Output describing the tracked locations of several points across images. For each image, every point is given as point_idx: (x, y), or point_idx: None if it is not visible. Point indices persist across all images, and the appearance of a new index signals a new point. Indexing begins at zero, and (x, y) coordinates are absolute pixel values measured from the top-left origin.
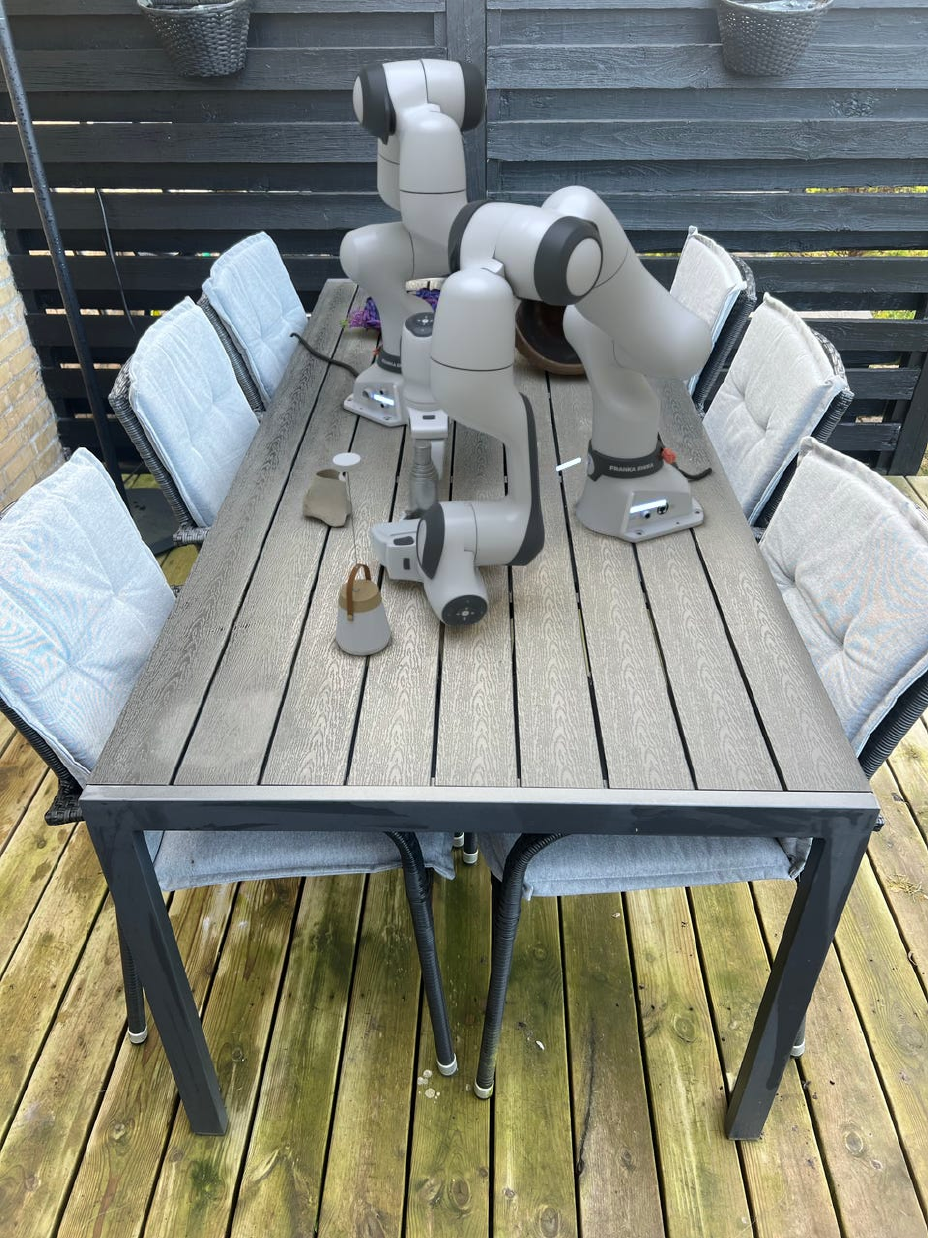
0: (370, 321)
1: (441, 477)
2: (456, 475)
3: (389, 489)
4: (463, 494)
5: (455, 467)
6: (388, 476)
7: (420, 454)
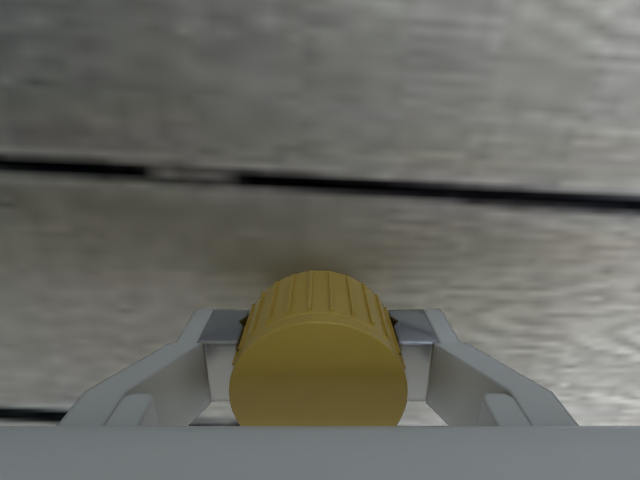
0: None
1: (338, 274)
2: (137, 142)
3: None
4: (381, 107)
5: (32, 144)
6: None
7: None
